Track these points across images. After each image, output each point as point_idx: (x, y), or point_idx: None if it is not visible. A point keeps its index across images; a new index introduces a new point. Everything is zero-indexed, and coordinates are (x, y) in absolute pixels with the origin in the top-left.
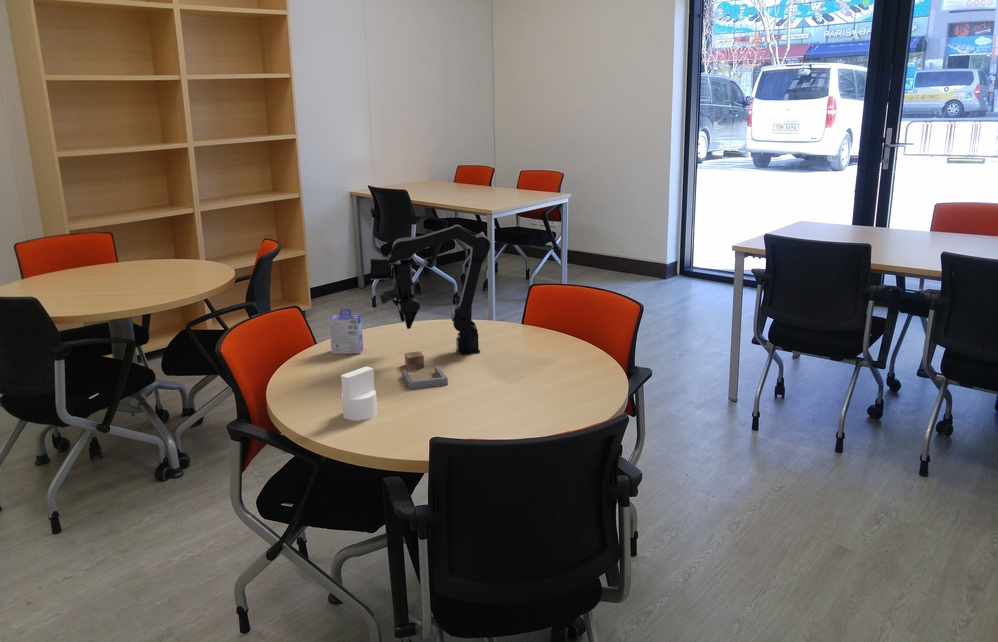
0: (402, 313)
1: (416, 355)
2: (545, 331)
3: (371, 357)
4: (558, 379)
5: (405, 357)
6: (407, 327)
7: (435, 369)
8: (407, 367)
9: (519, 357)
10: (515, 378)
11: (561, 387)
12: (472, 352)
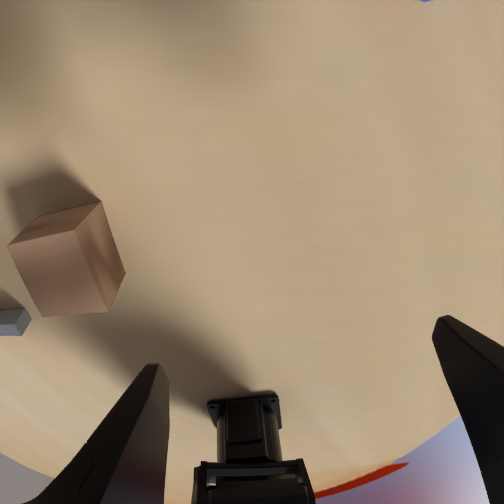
0: (474, 383)
1: (43, 287)
2: (332, 483)
3: (267, 7)
4: (60, 460)
5: (70, 222)
6: (139, 376)
7: (8, 319)
8: (57, 212)
9: (173, 465)
10: (43, 430)
11: (30, 450)
12: (215, 422)
